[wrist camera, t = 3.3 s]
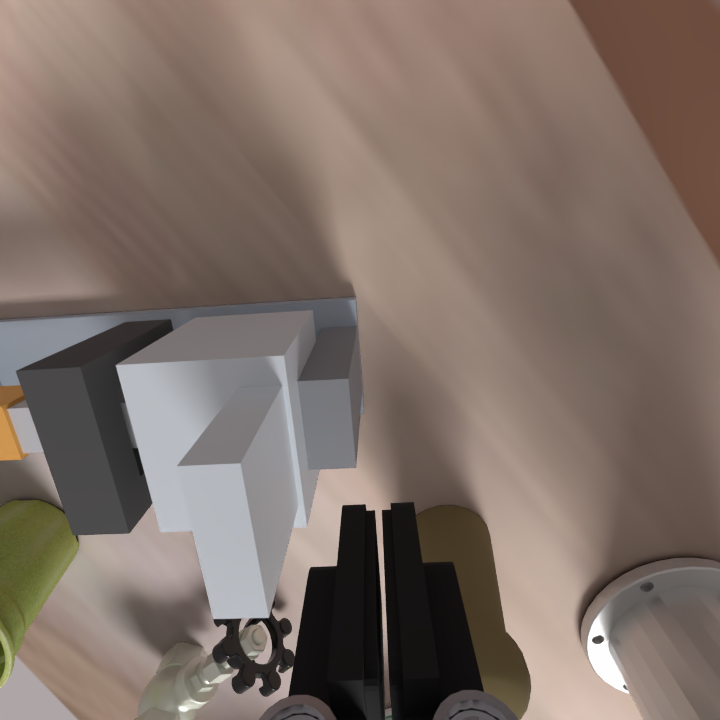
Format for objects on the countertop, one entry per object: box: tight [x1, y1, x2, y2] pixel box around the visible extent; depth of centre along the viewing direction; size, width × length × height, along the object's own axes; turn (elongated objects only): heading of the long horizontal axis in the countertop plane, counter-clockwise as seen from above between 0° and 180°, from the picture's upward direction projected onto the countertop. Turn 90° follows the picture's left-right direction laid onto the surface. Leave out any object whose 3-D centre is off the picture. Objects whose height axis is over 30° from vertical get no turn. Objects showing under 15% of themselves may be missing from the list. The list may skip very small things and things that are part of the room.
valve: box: [134, 600, 295, 720], centre depth 31 cm, size 7×7×12 cm
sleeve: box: [116, 310, 320, 619], centre depth 17 cm, size 6×7×12 cm
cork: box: [416, 505, 531, 720], centre depth 25 cm, size 6×6×11 cm
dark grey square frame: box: [16, 319, 173, 535], centre depth 20 cm, size 2×7×7 cm, turn 4°
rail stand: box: [0, 297, 364, 470], centre depth 22 cm, size 24×7×9 cm, turn 94°
